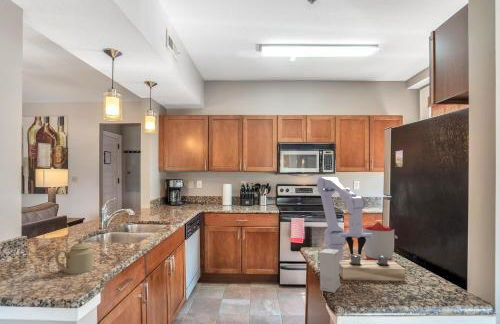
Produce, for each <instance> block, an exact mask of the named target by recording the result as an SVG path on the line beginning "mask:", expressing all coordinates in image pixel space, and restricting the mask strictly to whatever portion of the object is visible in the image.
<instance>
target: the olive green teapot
mask: <svg viewBox="0 0 500 324" xmlns="http://www.w3.org/2000/svg"><path fill="white" fill-rule="evenodd" d="M83 241H84V240H83V238H82V237H79V238H78V240H77V242H78V243H76V244H73V245H72V246H71V247H69V251H68V252H67V250H65V249H60V250H58V251H57V252H56V253H55V256H54V259H55V260H54V261H55V262H56V265H58V267H60V268H62V269H64V270H65V272H66V274H69V275H79V274H80V275H81V274H85V272H86V273H89V272H91V271H93V269H94V250H93V249H91V245H89V244H88V243H84V242H83ZM61 253H64V255H65V265H63V264H61V263H60V260H59V257H60V254H61ZM90 270H91V271H90ZM88 271H89V272H88Z"/></svg>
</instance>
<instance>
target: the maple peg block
mask: <svg viewBox="0 0 500 324" xmlns="http://www.w3.org/2000/svg"><path fill="white" fill-rule="evenodd" d="M339 268H340V277H341V278H342V280H343V281H395V282H396V281H399V282H403V281H404V282H405V281H406V268H405V267H403V266H401V265H400V264H398V263H397V262H396V261H394V260H391V261H388V266H379V265H378V260H367V259H365V260H363V259H362V260H361V259H360V266H352V265H351V259H343V260H339Z"/></svg>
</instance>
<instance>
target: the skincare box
mask: <svg viewBox="0 0 500 324" xmlns="http://www.w3.org/2000/svg"><path fill="white" fill-rule="evenodd" d="M340 277H341V276H340V268H339V250H334V249H327V248H325V249H322V251H320V252H319V280H320V281H319V283H320V284H319V286H320V287H319V288H320V291H324V292H328V293H333V294H334V293H336V292H337V290H338V289H340V287H341V278H340Z"/></svg>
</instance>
